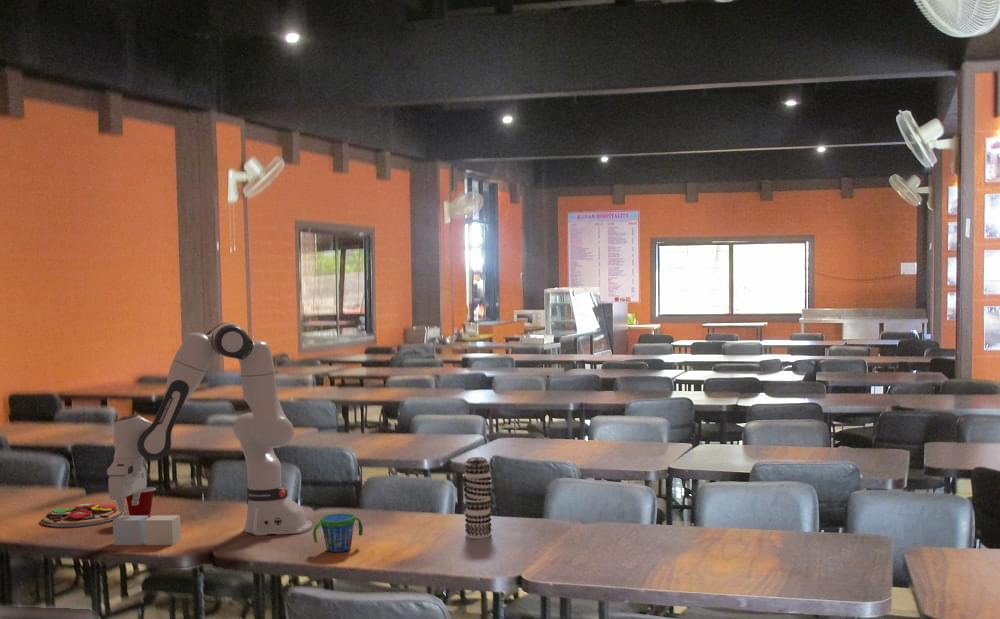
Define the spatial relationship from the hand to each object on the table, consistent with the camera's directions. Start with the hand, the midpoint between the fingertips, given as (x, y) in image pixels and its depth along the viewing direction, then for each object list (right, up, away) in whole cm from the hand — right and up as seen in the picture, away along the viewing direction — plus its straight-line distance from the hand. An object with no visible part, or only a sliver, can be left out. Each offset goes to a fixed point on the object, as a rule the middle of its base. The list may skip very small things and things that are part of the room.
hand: (128, 508), depth 316 cm
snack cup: (+70, -10, -13) cm, 72 cm away
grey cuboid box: (+11, -11, 0) cm, 16 cm away
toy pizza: (-30, -12, +36) cm, 48 cm away
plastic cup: (-7, -11, +28) cm, 31 cm away
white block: (+1, -11, +1) cm, 11 cm away
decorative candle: (+113, -9, +1) cm, 113 cm away
